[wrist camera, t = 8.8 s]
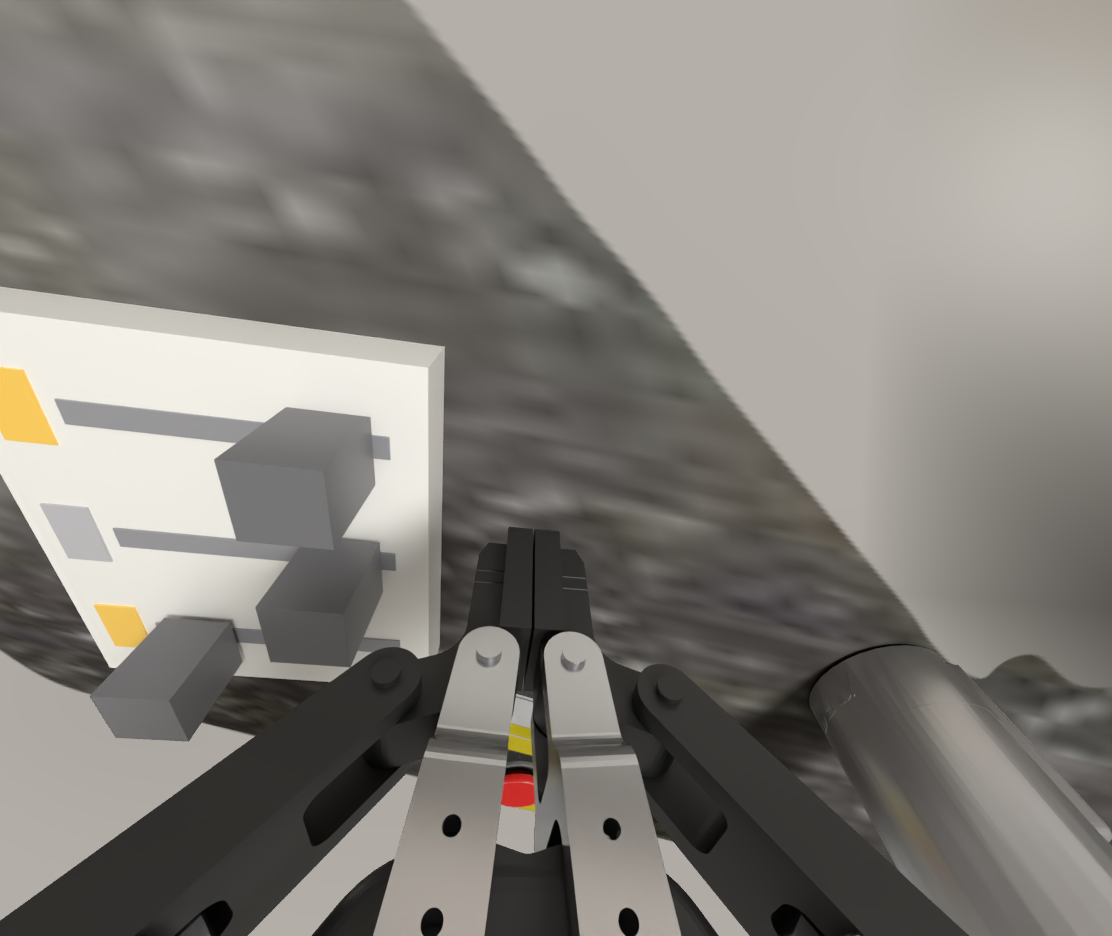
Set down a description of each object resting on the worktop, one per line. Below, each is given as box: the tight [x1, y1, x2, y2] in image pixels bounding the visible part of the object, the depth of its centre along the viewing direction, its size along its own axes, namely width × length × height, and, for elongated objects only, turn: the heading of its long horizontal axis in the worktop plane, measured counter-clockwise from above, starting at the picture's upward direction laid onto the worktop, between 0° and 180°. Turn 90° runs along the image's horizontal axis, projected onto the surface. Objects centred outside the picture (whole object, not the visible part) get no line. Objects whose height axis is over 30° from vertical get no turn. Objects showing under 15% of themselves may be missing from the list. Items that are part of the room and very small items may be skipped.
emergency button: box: [501, 694, 535, 812], centre depth 32 cm, size 9×4×15 cm
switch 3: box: [255, 539, 383, 667], centre depth 18 cm, size 3×3×4 cm
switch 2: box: [214, 407, 375, 550], centre depth 15 cm, size 3×3×4 cm
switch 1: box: [90, 618, 243, 741], centre depth 20 cm, size 3×3×4 cm
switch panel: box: [0, 287, 445, 682], centre depth 21 cm, size 17×19×3 cm
